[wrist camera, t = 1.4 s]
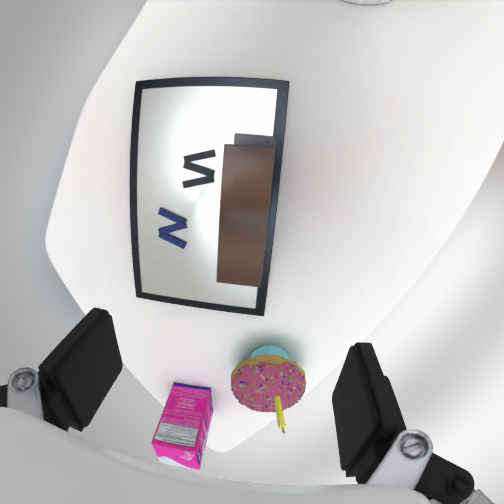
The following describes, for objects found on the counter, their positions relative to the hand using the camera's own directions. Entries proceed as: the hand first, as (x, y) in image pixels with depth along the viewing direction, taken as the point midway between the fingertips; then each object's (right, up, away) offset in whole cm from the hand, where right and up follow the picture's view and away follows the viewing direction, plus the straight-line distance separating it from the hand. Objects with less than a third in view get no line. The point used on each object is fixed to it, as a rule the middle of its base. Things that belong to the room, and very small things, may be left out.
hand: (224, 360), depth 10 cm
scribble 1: (-7, +6, +18) cm, 20 cm away
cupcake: (+3, -9, +24) cm, 26 cm away
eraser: (+1, +8, +16) cm, 18 cm away
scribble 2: (-4, +12, +15) cm, 20 cm away
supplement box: (-7, -17, +28) cm, 34 cm away
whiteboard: (-4, +9, +17) cm, 20 cm away
